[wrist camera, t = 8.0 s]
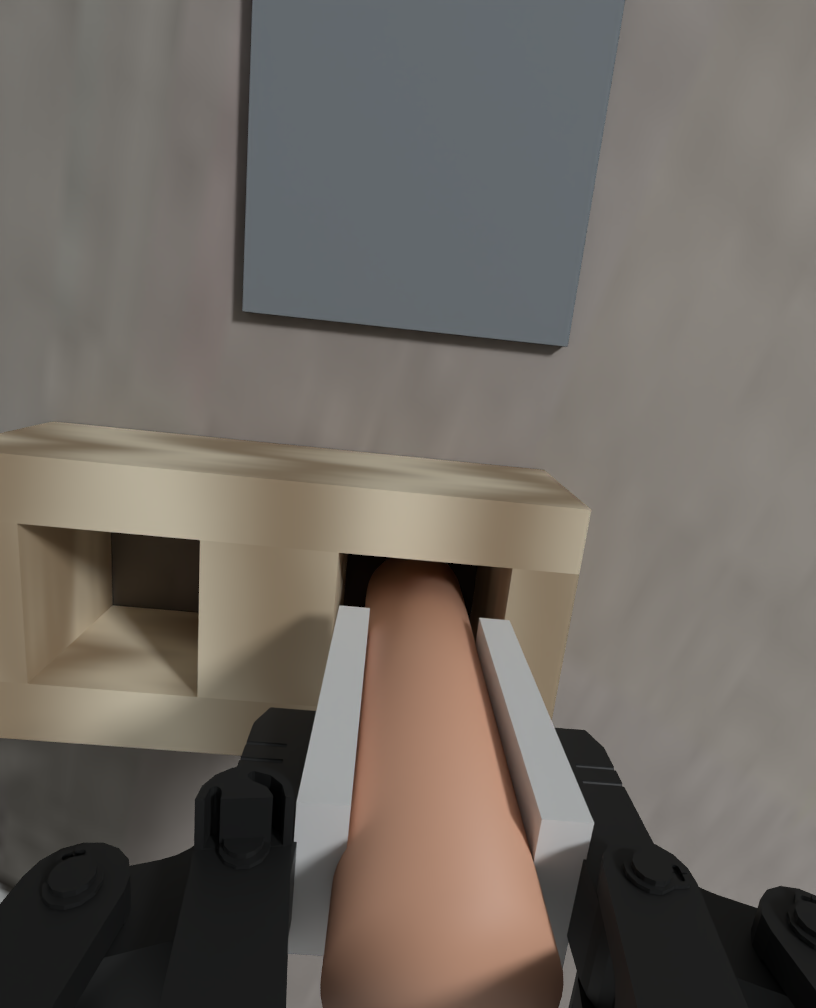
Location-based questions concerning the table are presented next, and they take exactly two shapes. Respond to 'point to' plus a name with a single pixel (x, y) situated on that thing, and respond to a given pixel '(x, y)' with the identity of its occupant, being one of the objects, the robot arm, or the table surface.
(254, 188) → the mat
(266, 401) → the table surface
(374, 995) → the peg
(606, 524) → the table surface
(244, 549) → the hole block
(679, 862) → the robot arm
